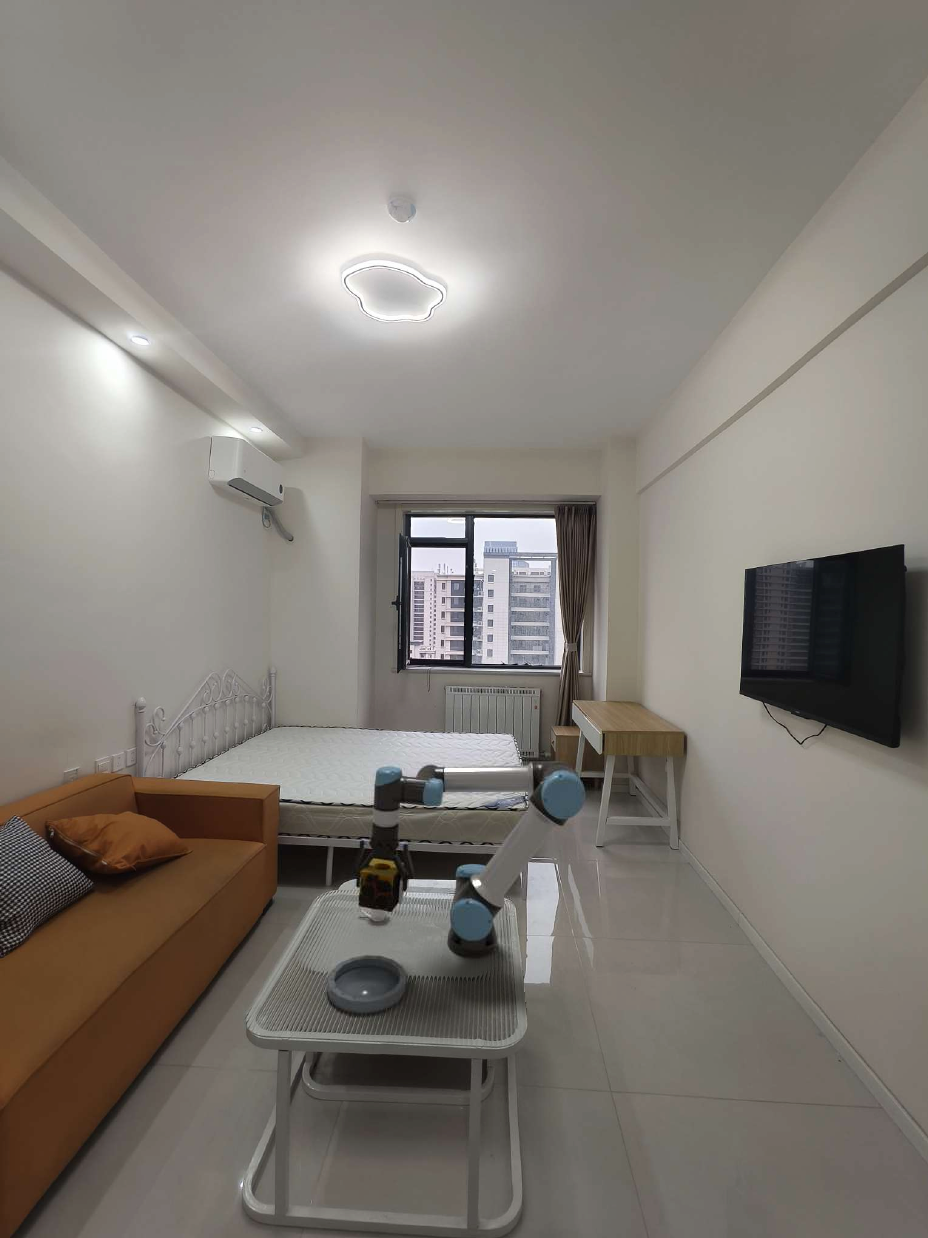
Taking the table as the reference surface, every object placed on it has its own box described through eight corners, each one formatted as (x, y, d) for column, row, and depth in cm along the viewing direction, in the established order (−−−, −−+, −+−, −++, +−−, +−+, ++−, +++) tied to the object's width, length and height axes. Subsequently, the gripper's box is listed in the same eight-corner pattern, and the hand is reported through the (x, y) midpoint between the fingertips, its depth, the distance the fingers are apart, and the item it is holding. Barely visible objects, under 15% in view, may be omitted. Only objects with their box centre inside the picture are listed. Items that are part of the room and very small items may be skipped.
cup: (386, 924, 187) (387, 899, 187) (355, 922, 188) (357, 896, 188) (390, 913, 194) (392, 889, 194) (361, 911, 195) (362, 887, 195)
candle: (391, 913, 161) (393, 877, 161) (357, 907, 163) (359, 871, 163) (403, 897, 171) (405, 862, 171) (371, 891, 173) (373, 857, 173)
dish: (408, 968, 164) (409, 957, 164) (400, 1015, 144) (401, 1003, 144) (337, 964, 164) (337, 954, 164) (319, 1012, 144) (320, 999, 144)
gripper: (427, 821, 170) (422, 897, 170) (348, 815, 171) (344, 891, 171) (424, 830, 163) (419, 910, 162) (342, 824, 164) (337, 903, 164)
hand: (380, 900), depth 167 cm, fingers closed on candle, 11 cm apart
